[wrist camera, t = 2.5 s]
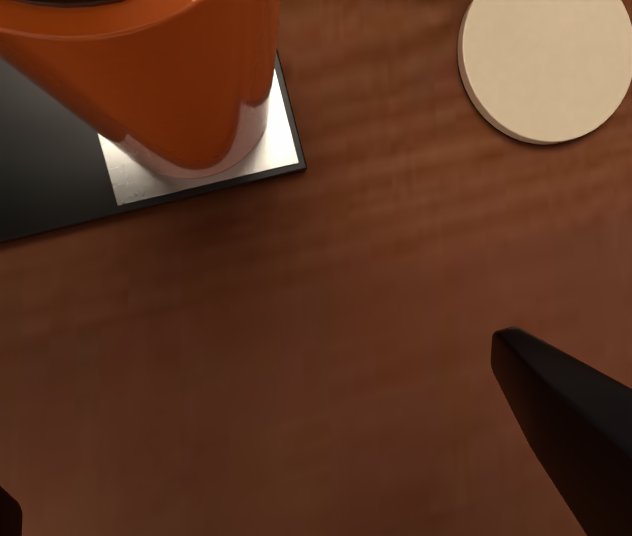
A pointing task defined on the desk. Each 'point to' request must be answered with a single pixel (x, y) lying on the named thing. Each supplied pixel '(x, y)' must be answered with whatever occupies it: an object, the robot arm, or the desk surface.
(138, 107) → the cup
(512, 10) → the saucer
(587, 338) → the desk surface
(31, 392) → the desk surface
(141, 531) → the desk surface
